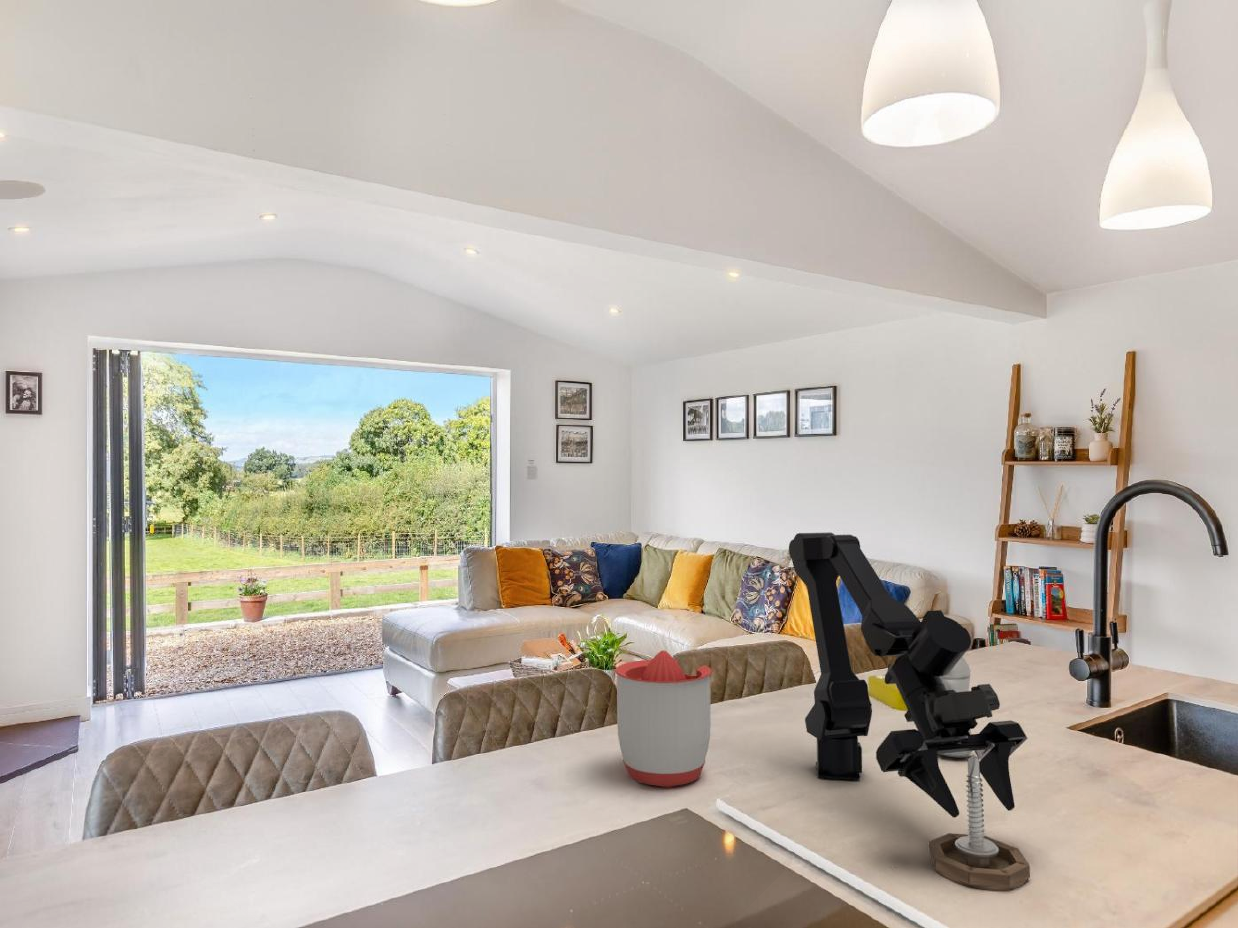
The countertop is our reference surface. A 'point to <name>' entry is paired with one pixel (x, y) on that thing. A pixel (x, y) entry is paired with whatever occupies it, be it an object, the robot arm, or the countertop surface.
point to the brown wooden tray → (1000, 875)
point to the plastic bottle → (958, 690)
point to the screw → (975, 822)
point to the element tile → (885, 692)
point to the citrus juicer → (663, 720)
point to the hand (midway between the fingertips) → (984, 812)
